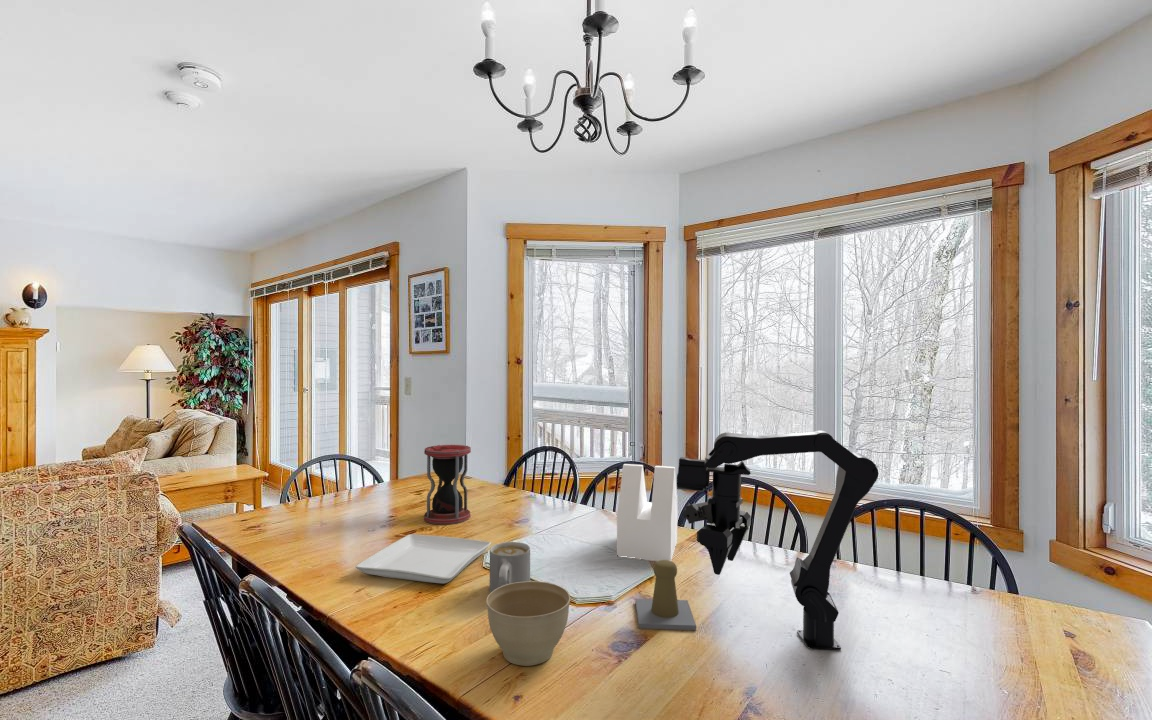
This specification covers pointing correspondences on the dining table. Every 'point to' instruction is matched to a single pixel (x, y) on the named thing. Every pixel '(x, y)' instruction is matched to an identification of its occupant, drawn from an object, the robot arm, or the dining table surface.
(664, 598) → the cork
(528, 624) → the planter bowl
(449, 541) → the square plate
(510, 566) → the coffee mug
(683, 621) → the charcoal mat
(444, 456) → the hourglass
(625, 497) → the white slotted block
